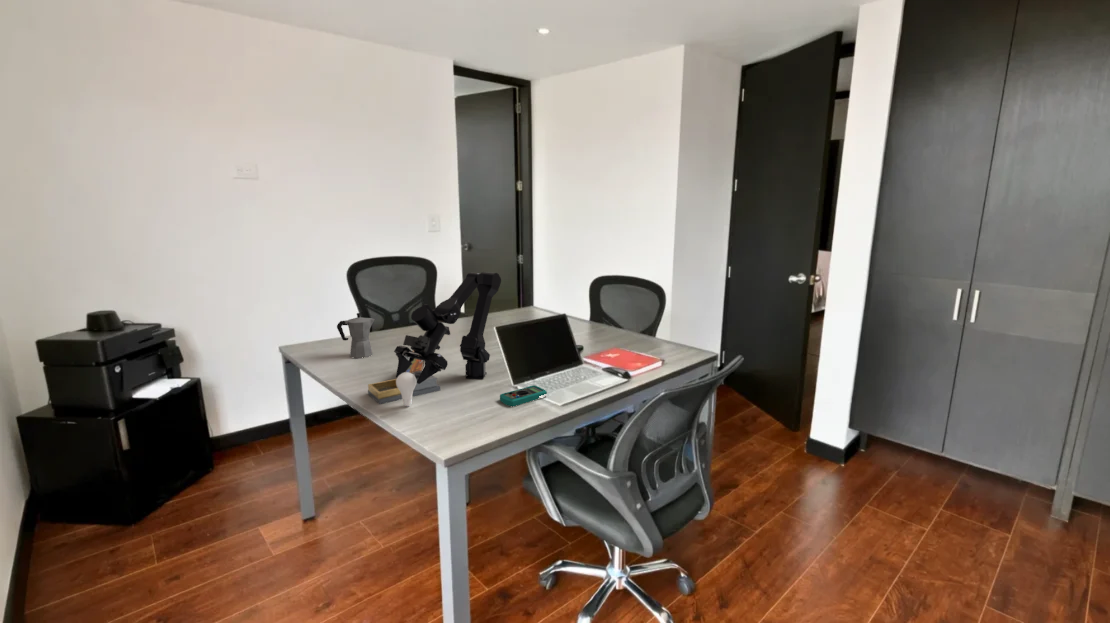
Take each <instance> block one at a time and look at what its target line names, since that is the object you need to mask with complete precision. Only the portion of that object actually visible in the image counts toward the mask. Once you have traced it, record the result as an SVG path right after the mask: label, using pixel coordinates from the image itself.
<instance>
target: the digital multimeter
mask: <svg viewBox="0 0 1110 623" xmlns="http://www.w3.org/2000/svg"><path fill="white" fill-rule="evenodd" d="M544 394H547V395H548V391H547V390H545V389H543V388H541V387H540V386H537V385H534V384H533V385H530V386H526V387H523V388H519V389H516V390H511V391H506V392H502V393H501V394H499V401H500V402H501V403H502V404H504V405H506V406H509V407H511V406H512V407H511V408H513V406H514V407H517V406H520V405H524V404H526V402H527V403H530V401H531V402H534V401H536V399H538V398H539V396H541V395H544ZM533 400H534V401H533ZM538 400H539V399H538ZM523 403H524V404H523ZM516 405H517V406H516Z"/></svg>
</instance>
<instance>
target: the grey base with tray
mask: <svg viewBox="0 0 1110 623" xmlns="http://www.w3.org/2000/svg"><path fill="white" fill-rule="evenodd" d="M421 372H422V371H415V372H413V373H412V374H413V375H414V376H415V377H416V380H418V378H419V376H420V374H421ZM437 379H438V378H437V377H436V376H434V375H432V376H430V377H429V378H427V379H426V380H425V381H423V382H422V383H420V384H418V383H416V386H415V388H414V390H413V395H412V398H413V397H417V396H421V395H425V394H430V393H434V391H435V392H439V391H441V385H439V384H438V382H437V381H438V380H437ZM396 380H397V378H394V379H388V380H384V381H378V382H374V383H373V382H372V383H369V384H367V387H368V388H367V395H369V396H370V397H371V398H372V399H373V400H375V402H376V403H378V404H379V405H381V404H386V402H387V403H390V401H391V402H394V400H395V401H399V399H400V400H403V399H402V395H401V392H400V390H399V389H398V387H397V385H396Z"/></svg>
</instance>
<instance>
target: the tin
mask: <svg viewBox="0 0 1110 623" xmlns="http://www.w3.org/2000/svg"><path fill="white" fill-rule="evenodd" d="M411 351H412V352H414V350H411ZM411 363H412V364H411V366H410V367H409V368H408V369H407V370H406V371H405V372H409V373H413V372H415V371H422V370H423V369H424V367H425V361H423V360H418V359H414V360H413V361H412V362H411Z"/></svg>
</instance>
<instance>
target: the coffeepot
mask: <svg viewBox="0 0 1110 623" xmlns="http://www.w3.org/2000/svg"><path fill="white" fill-rule="evenodd" d="M375 321H376V319H375V318H372V317H361V313H359V312H357V313H356V317H354V318H349V319H348V320H346V319H345V320H340V321H339V322H338V323H337V324H336V329H337V331H338V333H339V335H340V337H341V339H342V341H348V340H349V337H346V336H345V335H346V334H345V333H344V329H343V328H342V326H347V327H348V330H349V334H350V338H351V341H350V342H351V343H350V344H351V345H350V354H349V357H350V358H352V357H354V358H353V359H365V358H364V357H367V358H369V356H370V357H372V356H373V354H374V353H373V349H372V344H371V340H370V331H371V327H372V326H373V323H374V322H375ZM371 355H372V356H371ZM362 357H363V358H362Z"/></svg>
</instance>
